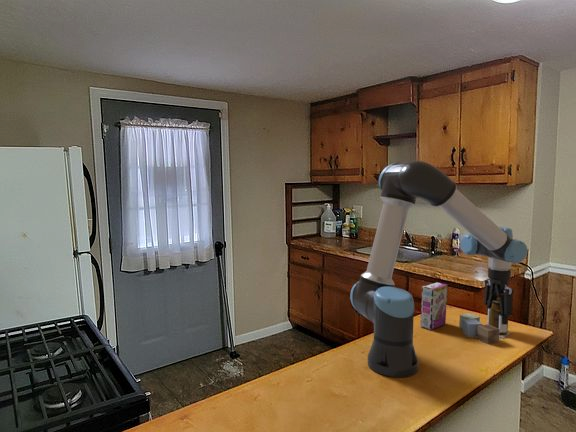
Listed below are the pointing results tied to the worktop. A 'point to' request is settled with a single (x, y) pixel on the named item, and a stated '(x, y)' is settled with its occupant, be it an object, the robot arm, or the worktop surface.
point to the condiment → (497, 317)
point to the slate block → (470, 327)
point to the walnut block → (488, 334)
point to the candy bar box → (433, 305)
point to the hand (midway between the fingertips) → (496, 328)
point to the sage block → (467, 316)
